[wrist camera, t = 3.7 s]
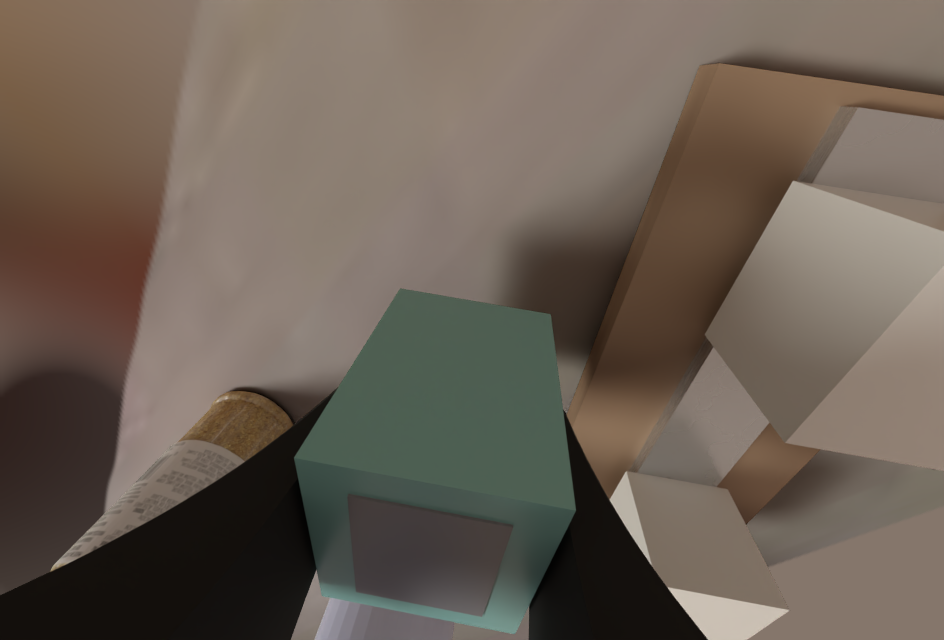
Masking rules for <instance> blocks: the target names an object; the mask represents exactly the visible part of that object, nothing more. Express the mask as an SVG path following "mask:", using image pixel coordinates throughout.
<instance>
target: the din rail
mask: <svg viewBox="0 0 944 640" xmlns="http://www.w3.org/2000/svg"><path fill="white" fill-rule="evenodd" d="M797 181H799V182H806V183H812V184H818V185H825V186H831V187H838V188H844V189H851V190H857V191H864V192H870V193H877V194H883V195H890V196H896V197H903V198H909V199H916V200H922V201H929V202H935V203H942V204H944V120H941V119H934V118H928V117H921V116H914V115H907V114H901V113H894V112H887V111H880V110H873V109H867V108H860V107H844V106H840V107H839V109H838V111H837V112H836V114H835V116H834V118H833V119H832V121H831V123H830V125H829V126H828V128H827V130H826V131H825V133H824V135H823V137H822V138H821V140H820V142H819V143H818V145H817V147H816V149H815V150H814V152H813V154H812V156H811V157H810V159H809V161H808V162H807V164H806V166H805V168H804V169H803V171H802V173H801V174H800V176H799V178H798V180H797ZM768 424H769V421H768V420H767V418H766V417H765V416H764V414H763V413H762V412H761V410H760V409H759V407H758V406H757V405H756V403H755V402H754V401H753V399H752V398H751V397H750V395H749V394H748V393H747V391H746V390H745V389H744V387H743V386H742V385H741V383H740V382H739V381H738V379H737V378H736V376H735V375H734V374H733V372H732V371H731V370H730V368H729V367H728V366H727V364H726V363H725V362H724V360H723V359H722V358H721V356H720V355H719V354H718V352H717V351H716V350H715V348H714V347H713V345H712V344H711V343H710V341H709V340H708V339H707V337H706V338H705V340H704V342H703V343H702V345H701V347H700V349H699V350H698V352H697V354H696V355H695V357H694V359H693V361H692V362H691V364H690V366H689V367H688V369H687V371H686V373H685V374H684V376H683V378H682V380H681V381H680V383H679V385H678V386H677V388H676V390H675V392H674V393H673V395H672V397H671V399H670V400H669V402H668V404H667V405H666V407H665V409H664V411H663V412H662V414H661V416H660V417H659V419H658V421H657V423H656V424H655V426H654V428H653V430H652V431H651V433H650V435H649V436H648V438H647V440H646V442H645V443H644V445H643V447H642V448H641V450H640V452H639V454H638V455H637V457H636V459H635V461H634V462H633V464H632V466H631V467H630V469H629V472H635V473H641V474H646V475H652V476H657V477H663V478H668V479H674V480H680V481H685V482H691V483H696V484H702V485H707V486H713V487H717V486H718V484H719V483H720V482H721V481H722V480H723V478H724V477H725V476H726V475H727V473H728V472H729V471H730V470H731V469H732V467H733V466H734V465H735V464H736V463H737V461H738V460H739V459H740V458H741V456H742V455H743V454H744V453H745V452H746V450H747V449H748V448H749V447H750V446H751V444H752V443H753V442H754V441H755V439H756V438H757V437H758V436H759V435H760V433H761V432H762V431H763V430H764V429H765V427H766V426H767V425H768Z"/></svg>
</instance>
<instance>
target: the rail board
mask: <svg viewBox="0 0 944 640" xmlns="http://www.w3.org/2000/svg"><path fill="white" fill-rule="evenodd" d="M840 106H844V107H860V108H867V109H873V110H880V111H887V112H894V113H901V114H907V115H914V116H921V117H928V118H934V119H941V120H944V96H941V95H934V94H928V93H921V92H914V91H907V90H900V89H893V88H886V87H880V86H873V85H866V84H859V83H852V82H845V81H838V80H831V79H825V78H818V77H811V76H804V75H797V74H790V73H783V72H777V71H770V70H763V69H756V68H749V67H742V66H735V65H728V64H722V63H717V64H709V65H702V66H699V69H698V71H697V74H696V77H695V79H694V82H693V85H692V87H691V90H690V92H689V95H688V98H687V100H686V103H685V106H684V108H683V111H682V114H681V116H680V119H679V121H678V124H677V127H676V129H675V132H674V135H673V137H672V140H671V142H670V145H669V148H668V150H667V153H666V156H665V158H664V161H663V163H662V166H661V169H660V171H659V174H658V177H657V179H656V182H655V184H654V187H653V190H652V192H651V195H650V198H649V200H648V203H647V205H646V208H645V211H644V213H643V216H642V219H641V221H640V224H639V226H638V229H637V232H636V234H635V237H634V240H633V242H632V245H631V247H630V250H629V253H628V255H627V258H626V261H625V263H624V266H623V268H622V271H621V274H620V276H619V279H618V282H617V284H616V287H615V289H614V292H613V295H612V297H611V300H610V303H609V305H608V308H607V310H606V313H605V316H604V318H603V321H602V324H601V326H600V329H599V331H598V334H597V337H596V339H595V342H594V345H593V347H592V350H591V352H590V355H589V358H588V360H587V363H586V366H585V368H584V371H583V374H582V376H581V379H580V381H579V384H578V387H577V389H576V392H575V395H574V397H573V400H572V402H571V405H570V408H569V410H568V413H567V417H568V420H569V422H570V424H571V426H572V428H573V431H574V433H575V435H576V437H577V439H578V441H579V443H580V445H581V447H582V450H583V452H584V454H585V456H586V458H587V460H588V461H589V463H590V465H591V467H592V469H593V471H594V473H595V475H596V476H597V478H598V480H599V482H600V484H601V486H602V488H603V489H604V491H605V493H606V495H607V496H608V498H609V500H610V498H611V497H612V495H613V493H614V491H615V490H616V488H617V486H618V484H619V483H620V481H621V479H622V477H623V476H624V474H625V472H626V471H629V469H630V467H631V466H632V464H633V462H634V461H635V459H636V457H637V455H638V454H639V452H640V450H641V448H642V447H643V445H644V443H645V442H646V440H647V438H648V436H649V435H650V433H651V431H652V430H653V428H654V426H655V424H656V423H657V421H658V419H659V417H660V416H661V414H662V412H663V411H664V409H665V407H666V405H667V404H668V402H669V400H670V399H671V397H672V395H673V393H674V392H675V390H676V388H677V386H678V385H679V383H680V381H681V380H682V378H683V376H684V374H685V373H686V371H687V369H688V367H689V366H690V364H691V362H692V361H693V359H694V357H695V355H696V354H697V352H698V350H699V349H700V347H701V345H702V343H703V342H704V340H705V338H706V336H705V333H706V331H707V330H708V328H709V326H710V324H711V323H712V321H713V319H714V317H715V316H716V314H717V312H718V310H719V309H720V307H721V305H722V303H723V302H724V300H725V298H726V296H727V295H728V293H729V291H730V290H731V288H732V286H733V284H734V283H735V281H736V279H737V277H738V276H739V274H740V272H741V270H742V269H743V267H744V265H745V263H746V262H747V260H748V258H749V256H750V255H751V253H752V251H753V250H754V248H755V246H756V244H757V243H758V241H759V239H760V237H761V236H762V234H763V232H764V230H765V229H766V227H767V225H768V223H769V222H770V220H771V218H772V216H773V215H774V213H775V211H776V209H777V208H778V206H779V204H780V203H781V201H782V199H783V197H784V196H785V194H786V192H787V190H788V189H789V187H790V185H791V183H792V182H793V181H797V180H798V178H799V176H800V174H801V173H802V171H803V169H804V168H805V166H806V164H807V162H808V161H809V159H810V157H811V156H812V154H813V152H814V150H815V149H816V147H817V145H818V143H819V142H820V140H821V138H822V137H823V135H824V133H825V131H826V130H827V128H828V126H829V125H830V123H831V121H832V119H833V118H834V116H835V114H836V112H837V111H838V109H839V107H840ZM819 450H820V449H816V448H811V447H805V446H799V445H793V444H788V443H784V441H783V440H782V439H781V437H780V436H779V434H778V433H777V432H776V430H775V429H774V428H773V426H772V425H771V424H770V422H769V424H768V425H767V426H766V427H765V429H764V430H763V431H762V432H761V433H760V435H759V436H758V437H757V438H756V439H755V441H754V442H753V443H752V444H751V446H750V447H749V448H748V449H747V450H746V452H745V453H744V454H743V455H742V456H741V458H740V459H739V460H738V461H737V463H736V464H735V465H734V466H733V467H732V469H731V470H730V471H729V472H728V473H727V475H726V476H725V477H724V478H723V480H722V481H721V482H720V483H719V484H718V486H717V487H719V488H724V489H728V491H729V493H730V495H731V497H732V499H733V501H734V503H735V504H736V506H737V508H738V510H739V512H740V514H741V516H742V518H743V520H744V522H745V524H747V523H748V522H749V521H750V520H751V519H752V518H753V517H754V516H755V515H756V514H757V513H758V512H759V511H760V510H761V509H762V508H763V507H764V506H765V505H766V504H767V503H768V502H769V501H770V500H771V499H772V498H773V497H774V496H775V495H776V494H777V493H778V492H779V491H780V490H781V489H782V488H783V487H784V486H785V485H786V484H787V483H788V482H789V481H790V480H791V479H792V478H793V477H794V476H795V475H796V474H797V473H798V472H799V471H800V470H801V469H802V468H803V467H804V466H805V465H806V464H807V463H808V462H809V461H810V460H811V459H812V458H813V457H814V455H815V454H816V453H817V452H818V451H819Z"/></svg>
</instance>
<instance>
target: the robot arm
mask: <svg viewBox="0 0 944 640" xmlns="http://www.w3.org/2000/svg"><path fill="white" fill-rule="evenodd" d="M337 389H338V388H337ZM337 389H336V390H337ZM336 390H334V391H333V392H332V393H331V394H330V395H329V396H328V397H327V398H325V399H324V400H323V401H322V402H321V403H320V404H318V405H317V406H316V407H315V408H314V409H313V410H311V411H310V412H309V413H308V414H306V415H305V416H304V417H303V418H302V419H300V420H299V421H298V422H297V423H296V424H294V425H293V426H292V427H291V428H289V429H288V430H287V431H286V432H284V433H283V434H282V435H280V436H279V437H278V438H276V439H275V440H274V441H272V442H271V443H270V444H268V445H267V446H266V447H264V448H263V449H262V450H260V451H259V452H258V453H256V454H255V455H253V456H252V457H251V458H249V459H248V460H246V461H245V462H244V463H242V464H241V465H239V466H238V467H236V468H235V469H233V470H232V471H230V472H229V473H227V474H226V475H224V476H223V477H221V478H220V479H218V480H217V481H215V482H214V483H212V484H210V485H209V486H207V487H205V488H204V489H202V490H201V491H199V492H197V493H196V494H194V495H192V496H191V497H189V498H187V499H186V500H184V501H183V502H181V503H179V504H178V505H176V506H174V507H173V508H171V509H169V510H167V511H166V512H164V513H162V514H160V515H159V516H157V517H155V518H153V519H152V520H150V521H148V522H146V523H144V524H142V525H140V526H139V527H137V528H135V529H133V530H131V531H129V532H127V533H125V534H124V535H122V536H120V537H118V538H116V539H114V540H112V541H111V542H109V543H107V544H105V545H103V546H101V547H99V548H97V549H96V550H94V551H92V552H90V553H88V554H86V555H84V556H82V557H80V558H78V559H76V560H74V561H72V562H70V563H68V564H66V565H64V566H61V567H59V568H57V569H55V570H53V571H51V572H49V573H47V574H45V575H43V576H40V577H38V578H36V579H34V580H32V581H30V582H28V583H26V584H23V585H21V586H19V587H17V588H15V589H13V590H11V591H9V592H7V593H5V594H2V595H0V640H291V637H292V634H293V632H294V629H295V626H296V623H297V620H298V618H299V615H300V612H301V609H302V607H303V604H304V601H305V598H306V596H307V593H308V590H309V588H310V585H311V582H312V580H313V577H314V574H315V572H316V564H315V559H314V554H313V549H312V544H311V539H310V534H309V529H308V524H307V519H306V515H305V510H304V505H303V500H302V495H301V490H300V485H299V480H298V475H297V470H296V465H295V460H294V457H295V455H296V454H297V452H298V451H299V449H300V447H301V446H302V444H303V443H304V441H305V439H306V438H307V436H308V435H309V433H310V432H311V430H312V428H313V427H314V425H315V424H316V422H317V420H318V419H319V417H320V416H321V414H322V412H323V411H324V409H325V408H326V406H327V404H328V403H329V401H330V400H331V398H332V396H333V395H334V393H335V392H336ZM563 413H564V421H565V429H566V437H567V444H568V452H569V460H570V468H571V476H572V483H573V491H574V499H575V507H576V512H575V514H574V516H573V518H572V520H571V522H570V524H569V526H568V528H567V530H566V532H565V534H564V536H563V538H562V540H561V542H560V544H559V546H558V548H557V550H556V552H555V554H554V556H553V558H552V560H551V562H550V564H549V566H548V568H547V570H546V572H545V574H544V576H543V578H542V580H541V582H540V584H539V586H538V588H537V590H536V592H535V594H534V596H533V598H532V600H531V602H530V604H529V640H708V639H707V638H706V636H705V635H704V634H703V633H702V631H701V630H700V629H699V627H698V626H697V625H696V624H695V622H694V621H693V620H692V619H691V617H690V616H689V615H688V614H687V612H686V611H685V610H684V608H683V607H682V606H681V605H680V603H679V602H678V601H677V600H676V598H675V597H674V596H673V594H672V593H671V592H670V590H669V589H668V587H667V586H666V585H665V583H664V582H663V581H662V579H661V578H660V576H659V575H658V574H657V572H656V571H655V570H654V568H653V567H652V565H651V564H650V562H649V561H648V559H647V558H646V557H645V555H644V554H643V552H642V551H641V549H640V548H639V546H638V545H637V543H636V542H635V540H634V539H633V537H632V536H631V534H630V533H629V531H628V529H627V528H626V526H625V525H624V523H623V521H622V520H621V518H620V517H619V515H618V513H617V512H616V510H615V508H614V507H613V505H612V503H611V502H610V500H609V498H608V496H607V495H606V493H605V491H604V489H603V488H602V486H601V484H600V482H599V480H598V478H597V476H596V475H595V473H594V471H593V469H592V467H591V465H590V463H589V461H588V460H587V458H586V456H585V454H584V452H583V450H582V447H581V445H580V443H579V441H578V439H577V437H576V435H575V433H574V431H573V428H572V426H571V424H570V422H569V420H568V417H567V415H566V413H565V411H564V410H563ZM453 630H454V622H451V621H446V620H441V619H436V618H430V617H425V616H420V615H415V614H410V613H405V612H400V611H395V610H390V609H385V608H380V607H375V606H370V605H365V604H360V603H355V602H350V601H345V600H340V599H335V598H330V600H329V602H328V605H327V608H326V610H325V613H324V616H323V618H322V621H321V624H320V626H319V629H318V632H317V634H316V637H315V639H314V640H452V638H453Z"/></svg>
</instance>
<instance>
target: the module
mask: <svg viewBox="0 0 944 640" xmlns="http://www.w3.org/2000/svg"><path fill="white" fill-rule="evenodd" d="M294 460H295V465H296V470H297V475H298V480H299V485H300V490H301V495H302V500H303V505H304V510H305V515H306V519H307V524H308V529H309V534H310V539H311V544H312V549H313V554H314V559H315V564H316V569H317V574H318V579H319V583H320V588H321V593H322V596H325V597H330V598H335V599H340V600H345V601H350V602H355V603H360V604H365V605H370V606H375V607H380V608H385V609H390V610H395V611H400V612H405V613H410V614H415V615H420V616H425V617H430V618H436V619H441V620H446V621H451V622H456V623H461V624H466V625H471V626H476V627H481V628H486V629H491V630H496V631H501V632H506V633H511V634H515V633H516V631H517V629H518V627H519V625H520V623H521V621H522V619H523V617H524V615H525V613H526V611H527V608H528V606H529V604H530V602H531V600H532V598H533V596H534V594H535V592H536V590H537V588H538V586H539V584H540V582H541V580H542V578H543V576H544V574H545V572H546V570H547V568H548V566H549V564H550V562H551V560H552V558H553V556H554V554H555V552H556V550H557V548H558V546H559V544H560V542H561V540H562V538H563V536H564V534H565V532H566V530H567V528H568V526H569V524H570V522H571V520H572V518H573V516H574V514H575V512H576V507H575V499H574V491H573V483H572V476H571V468H570V460H569V452H568V444H567V437H566V429H565V421H564V413H563V406H562V398H561V390H560V382H559V375H558V367H557V359H556V351H555V343H554V336H553V328H552V320H551V314H547V313H541V312H535V311H529V310H523V309H517V308H512V307H506V306H500V305H494V304H488V303H482V302H476V301H471V300H465V299H459V298H453V297H447V296H441V295H435V294H430V293H424V292H418V291H412V290H406V289H400V290H399V291H398V293H397V295H396V296H395V298H394V299H393V301H392V302H391V304H390V306H389V307H388V309H387V310H386V312H385V314H384V315H383V317H382V318H381V320H380V322H379V323H378V325H377V326H376V328H375V330H374V331H373V333H372V334H371V336H370V338H369V339H368V341H367V342H366V344H365V346H364V347H363V349H362V350H361V352H360V353H359V355H358V357H357V358H356V360H355V361H354V363H353V365H352V366H351V368H350V369H349V371H348V373H347V374H346V376H345V377H344V379H343V381H342V382H341V384H340V385H339V387H338V389H337V390H336V392H335V393H334V395H333V396H332V398H331V400H330V401H329V403H328V404H327V406H326V408H325V409H324V411H323V412H322V414H321V416H320V417H319V419H318V420H317V422H316V424H315V425H314V427H313V428H312V430H311V432H310V433H309V435H308V436H307V438H306V439H305V441H304V443H303V444H302V446H301V447H300V449H299V451H298V452H297V454H296V455H295V457H294Z"/></svg>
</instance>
